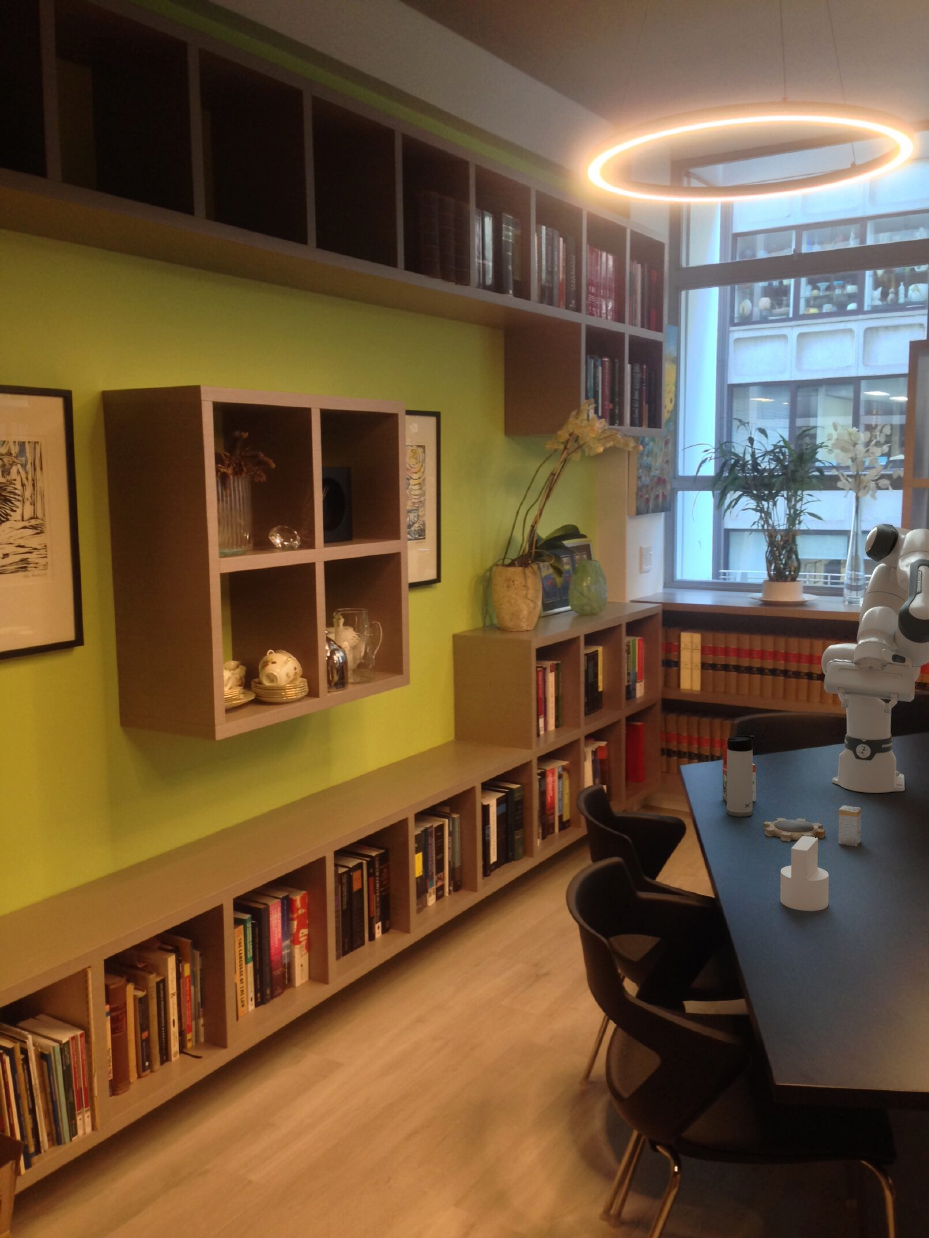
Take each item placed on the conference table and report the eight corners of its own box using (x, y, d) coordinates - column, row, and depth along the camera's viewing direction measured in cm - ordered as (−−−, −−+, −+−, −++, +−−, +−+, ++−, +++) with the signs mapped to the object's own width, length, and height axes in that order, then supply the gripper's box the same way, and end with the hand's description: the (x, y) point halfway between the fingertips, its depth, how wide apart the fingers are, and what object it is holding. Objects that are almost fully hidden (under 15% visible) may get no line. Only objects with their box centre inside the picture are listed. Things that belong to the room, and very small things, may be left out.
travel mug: (754, 817, 263) (755, 738, 261) (727, 816, 265) (727, 738, 262) (753, 810, 269) (753, 733, 267) (726, 809, 271) (726, 732, 269)
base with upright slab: (822, 914, 202) (822, 853, 201) (774, 905, 207) (775, 846, 206) (833, 898, 210) (834, 839, 208) (787, 890, 215) (787, 833, 213)
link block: (842, 838, 246) (843, 805, 245) (860, 841, 244) (861, 807, 243) (838, 843, 242) (838, 809, 241) (856, 846, 240) (857, 812, 239)
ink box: (756, 801, 277) (756, 746, 275) (727, 803, 276) (727, 748, 274) (750, 797, 281) (751, 743, 279) (722, 799, 280) (722, 745, 278)
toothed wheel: (773, 820, 260) (773, 813, 260) (831, 828, 253) (831, 821, 253) (755, 836, 249) (755, 828, 249) (815, 845, 241) (816, 837, 241)
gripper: (826, 650, 257) (818, 696, 249) (918, 659, 249) (912, 706, 241) (827, 667, 262) (819, 711, 254) (917, 675, 253) (911, 722, 245)
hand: (865, 709), depth 247 cm, fingers open, 8 cm apart
